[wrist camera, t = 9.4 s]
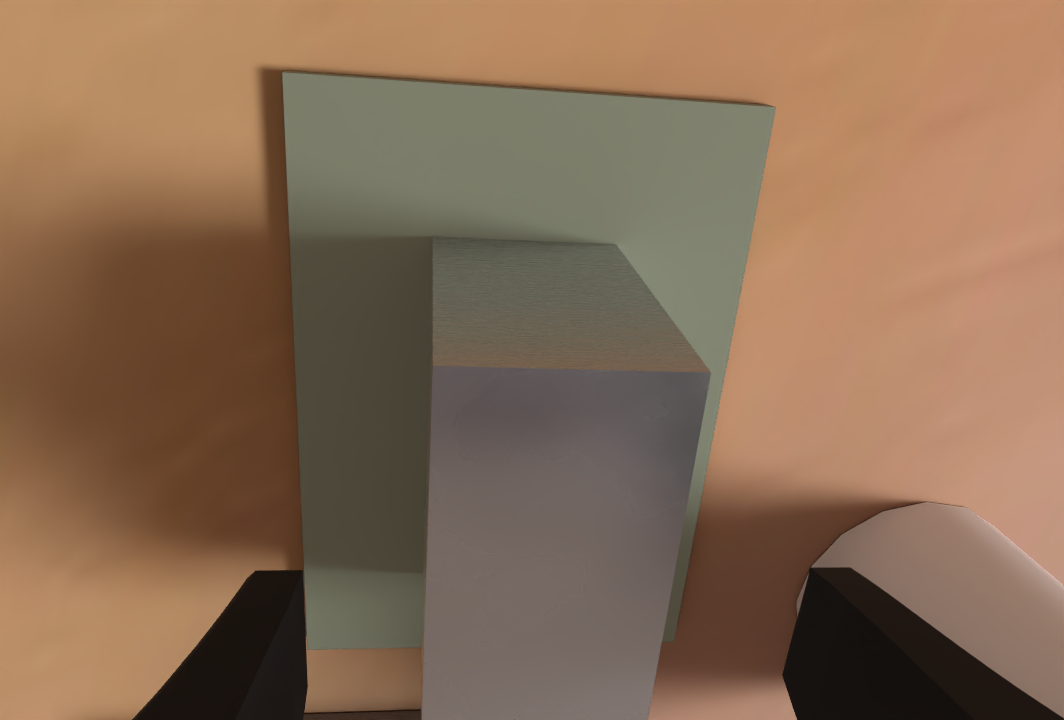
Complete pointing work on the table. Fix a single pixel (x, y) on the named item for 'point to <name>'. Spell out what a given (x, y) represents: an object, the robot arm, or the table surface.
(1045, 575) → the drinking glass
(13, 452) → the table surface
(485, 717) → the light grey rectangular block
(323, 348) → the mat
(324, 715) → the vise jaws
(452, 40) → the table surface
